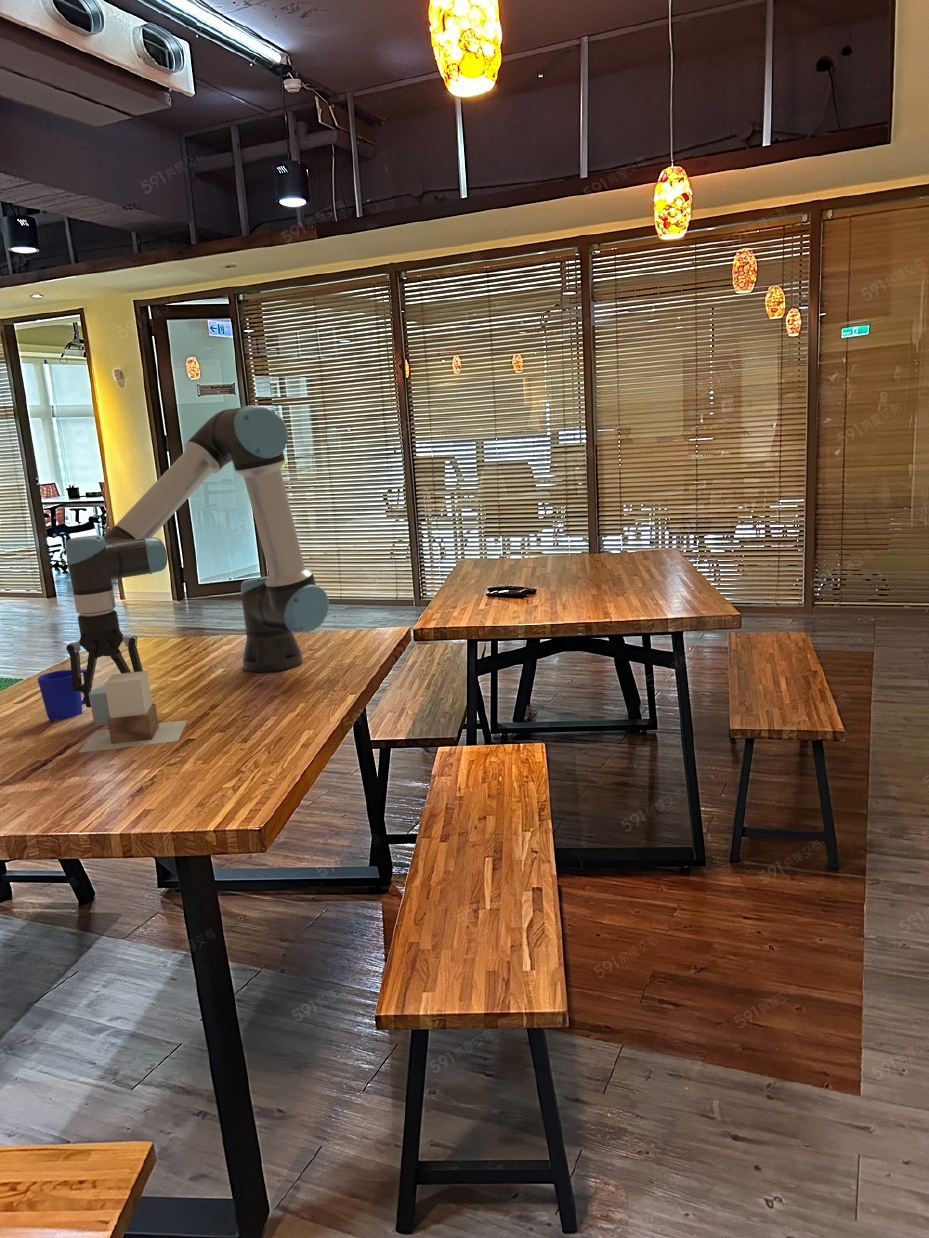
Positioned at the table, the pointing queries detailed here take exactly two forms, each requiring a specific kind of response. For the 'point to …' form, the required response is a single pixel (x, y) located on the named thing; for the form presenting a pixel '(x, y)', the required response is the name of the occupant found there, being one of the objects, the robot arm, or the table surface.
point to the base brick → (134, 727)
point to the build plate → (163, 735)
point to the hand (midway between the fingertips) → (115, 718)
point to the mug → (60, 695)
